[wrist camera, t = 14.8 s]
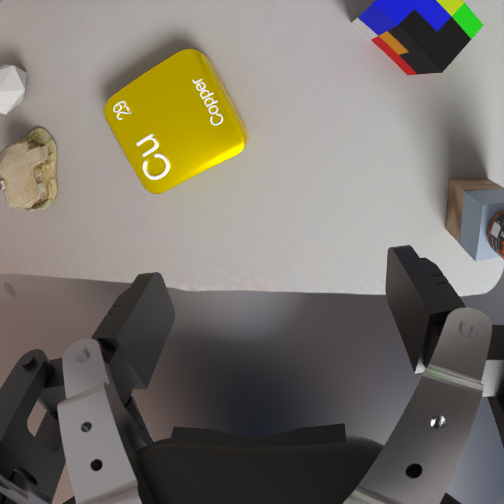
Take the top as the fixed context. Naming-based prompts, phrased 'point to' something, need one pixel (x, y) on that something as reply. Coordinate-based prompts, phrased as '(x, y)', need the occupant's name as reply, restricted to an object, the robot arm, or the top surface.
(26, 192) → the ceramic model
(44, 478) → the robot arm
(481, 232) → the tower top block
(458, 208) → the tower base block
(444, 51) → the puzzle toy
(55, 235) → the top surface
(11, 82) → the die
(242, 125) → the element tile
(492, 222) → the supplement bottle
